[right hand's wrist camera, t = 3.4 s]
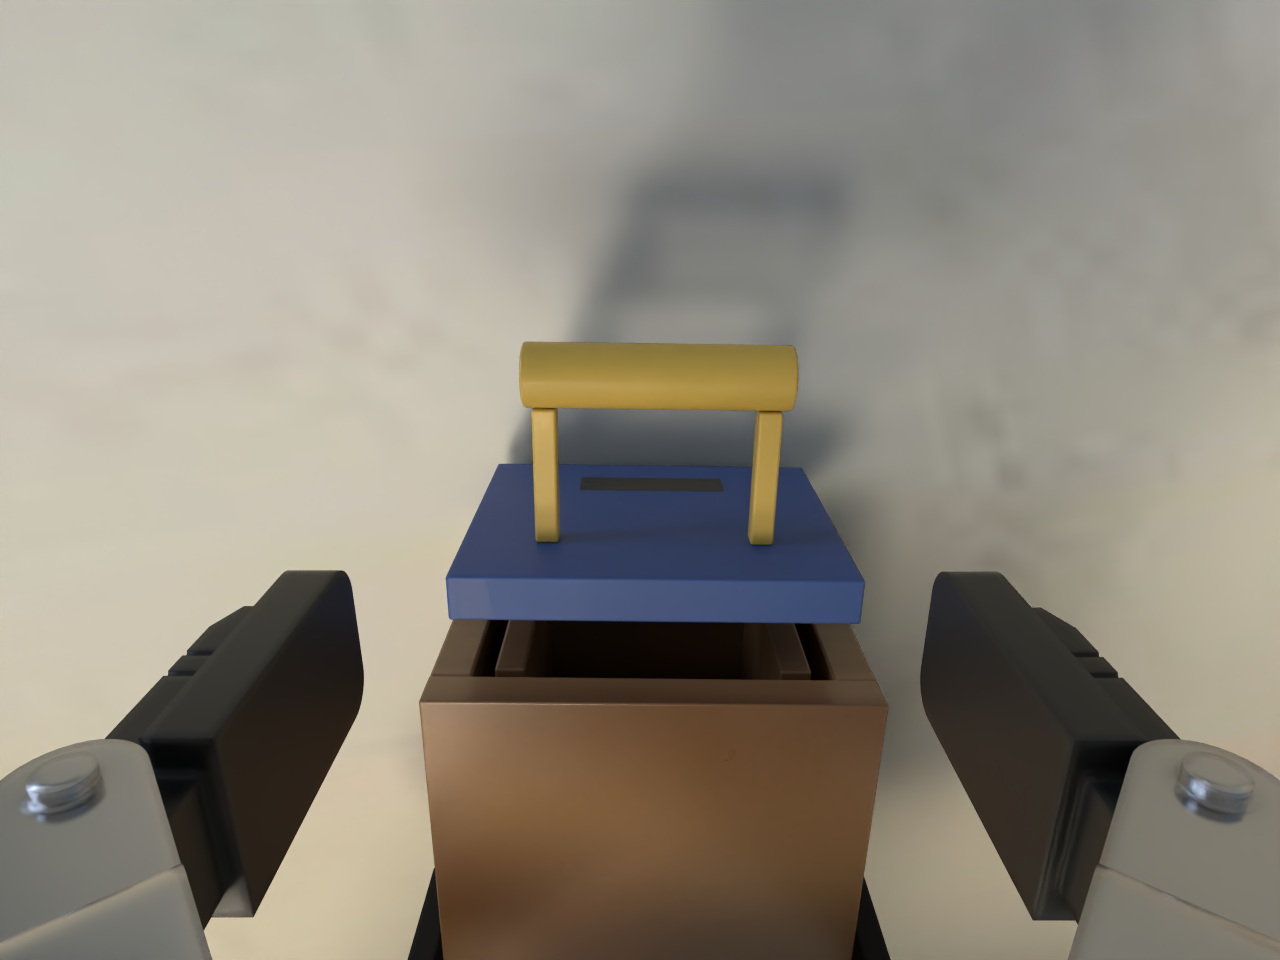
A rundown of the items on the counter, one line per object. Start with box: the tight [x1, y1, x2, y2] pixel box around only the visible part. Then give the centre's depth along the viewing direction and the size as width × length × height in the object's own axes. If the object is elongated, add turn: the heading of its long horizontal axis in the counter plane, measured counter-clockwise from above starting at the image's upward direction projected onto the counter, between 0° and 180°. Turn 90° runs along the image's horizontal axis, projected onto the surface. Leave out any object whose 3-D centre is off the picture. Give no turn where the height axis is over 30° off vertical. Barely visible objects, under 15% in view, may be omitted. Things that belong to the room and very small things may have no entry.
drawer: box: [446, 342, 865, 680], centre depth 25 cm, size 19×10×8 cm, turn 179°
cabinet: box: [419, 619, 888, 960], centre depth 27 cm, size 15×11×10 cm
